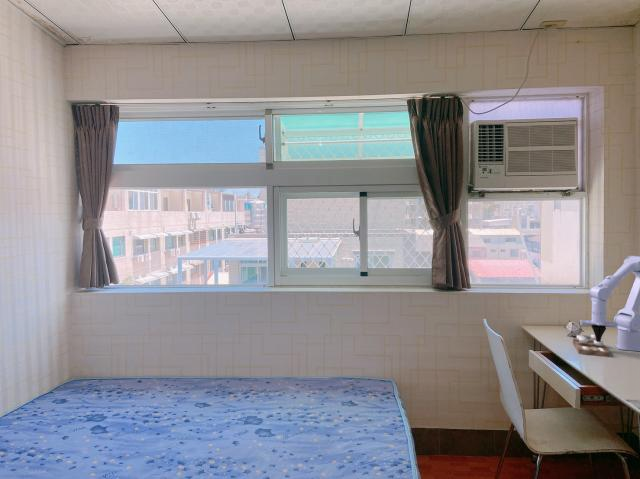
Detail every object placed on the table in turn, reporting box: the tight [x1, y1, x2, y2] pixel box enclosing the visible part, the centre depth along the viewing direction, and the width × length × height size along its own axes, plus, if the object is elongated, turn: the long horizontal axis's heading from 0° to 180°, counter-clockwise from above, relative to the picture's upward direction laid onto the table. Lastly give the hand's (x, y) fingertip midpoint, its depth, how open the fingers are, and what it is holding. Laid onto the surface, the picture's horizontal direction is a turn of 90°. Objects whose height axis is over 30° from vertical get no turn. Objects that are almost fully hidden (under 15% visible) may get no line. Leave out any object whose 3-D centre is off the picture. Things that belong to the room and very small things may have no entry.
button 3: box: [594, 340, 604, 346], centre depth 204 cm, size 4×4×2 cm
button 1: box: [579, 336, 589, 343], centre depth 206 cm, size 4×4×2 cm
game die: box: [563, 320, 585, 337], centre depth 227 cm, size 9×8×10 cm
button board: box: [572, 338, 611, 358], centre depth 206 cm, size 12×19×2 cm, turn 157°
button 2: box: [590, 333, 596, 340], centre depth 210 cm, size 4×4×2 cm
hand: (598, 341), depth 204 cm, fingers closed, pressing on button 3
